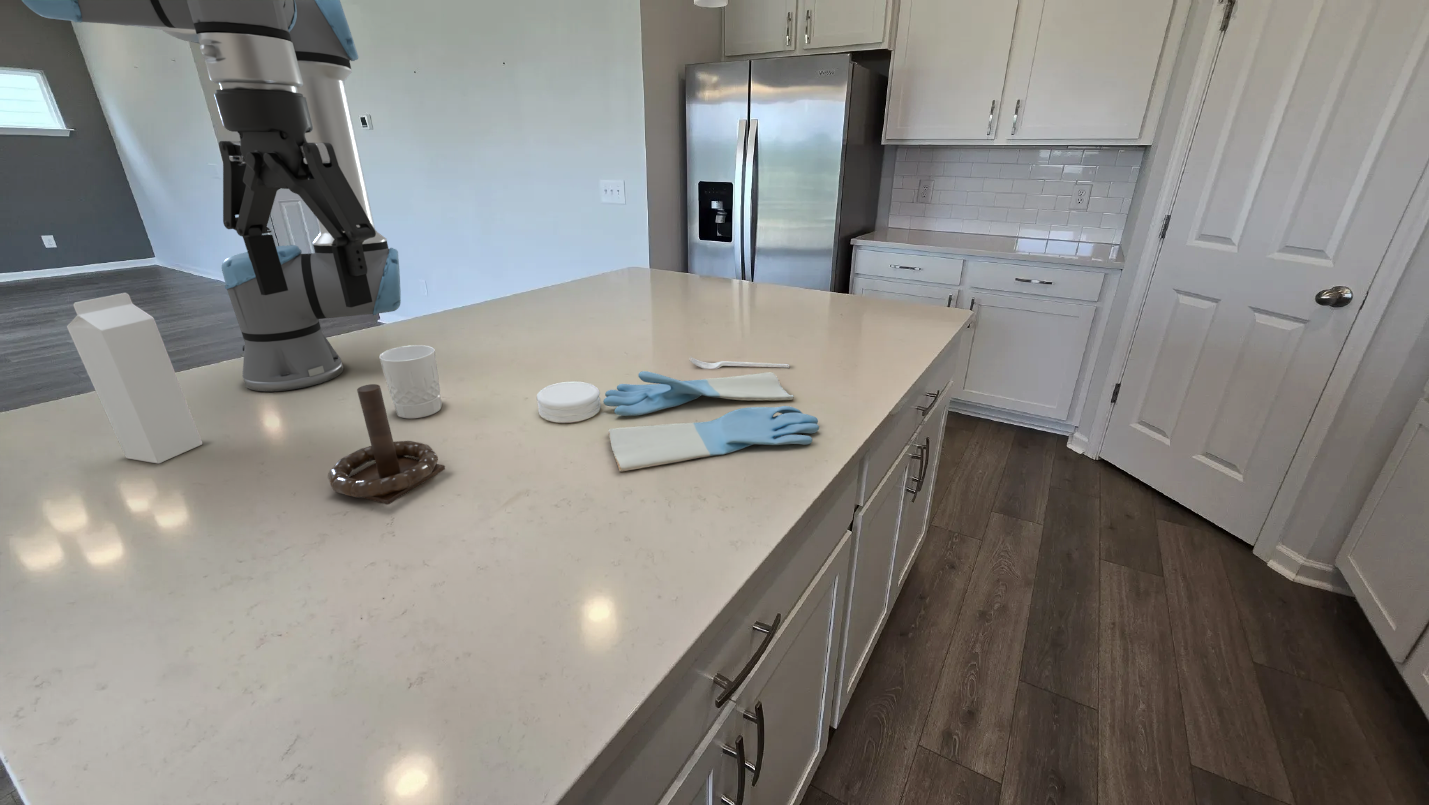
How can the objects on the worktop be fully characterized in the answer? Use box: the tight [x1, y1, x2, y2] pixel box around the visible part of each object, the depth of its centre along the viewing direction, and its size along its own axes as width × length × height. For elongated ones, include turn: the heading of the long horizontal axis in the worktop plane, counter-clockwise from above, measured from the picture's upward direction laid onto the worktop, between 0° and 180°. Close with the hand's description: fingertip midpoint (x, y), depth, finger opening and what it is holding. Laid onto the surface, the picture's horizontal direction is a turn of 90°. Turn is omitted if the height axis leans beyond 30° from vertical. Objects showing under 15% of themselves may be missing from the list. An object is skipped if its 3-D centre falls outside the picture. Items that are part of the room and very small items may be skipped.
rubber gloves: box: [602, 370, 820, 472], centre depth 93 cm, size 27×33×6 cm
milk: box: [66, 292, 203, 464], centre depth 78 cm, size 6×6×22 cm
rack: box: [349, 383, 446, 505], centre depth 72 cm, size 9×9×14 cm
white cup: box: [378, 344, 443, 419], centre depth 94 cm, size 8×8×10 cm
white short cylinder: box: [536, 380, 602, 424], centre depth 95 cm, size 10×10×4 cm
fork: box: [688, 356, 791, 370], centre depth 116 cm, size 3×20×2 cm, turn 89°
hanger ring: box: [327, 440, 439, 498], centre depth 74 cm, size 12×12×2 cm
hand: (316, 298), depth 67 cm, fingers open, 13 cm apart
